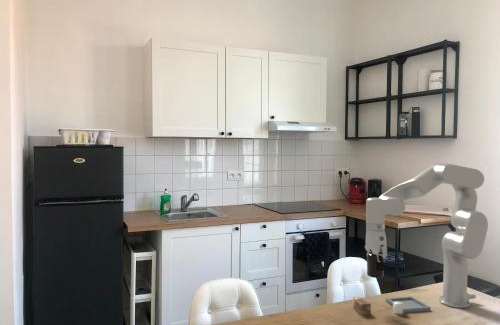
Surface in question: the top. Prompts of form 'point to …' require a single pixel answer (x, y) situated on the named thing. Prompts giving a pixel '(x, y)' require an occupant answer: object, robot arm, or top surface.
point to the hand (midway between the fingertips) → (375, 268)
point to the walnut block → (363, 307)
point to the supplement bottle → (373, 266)
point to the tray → (409, 304)
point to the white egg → (398, 307)
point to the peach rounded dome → (355, 301)
